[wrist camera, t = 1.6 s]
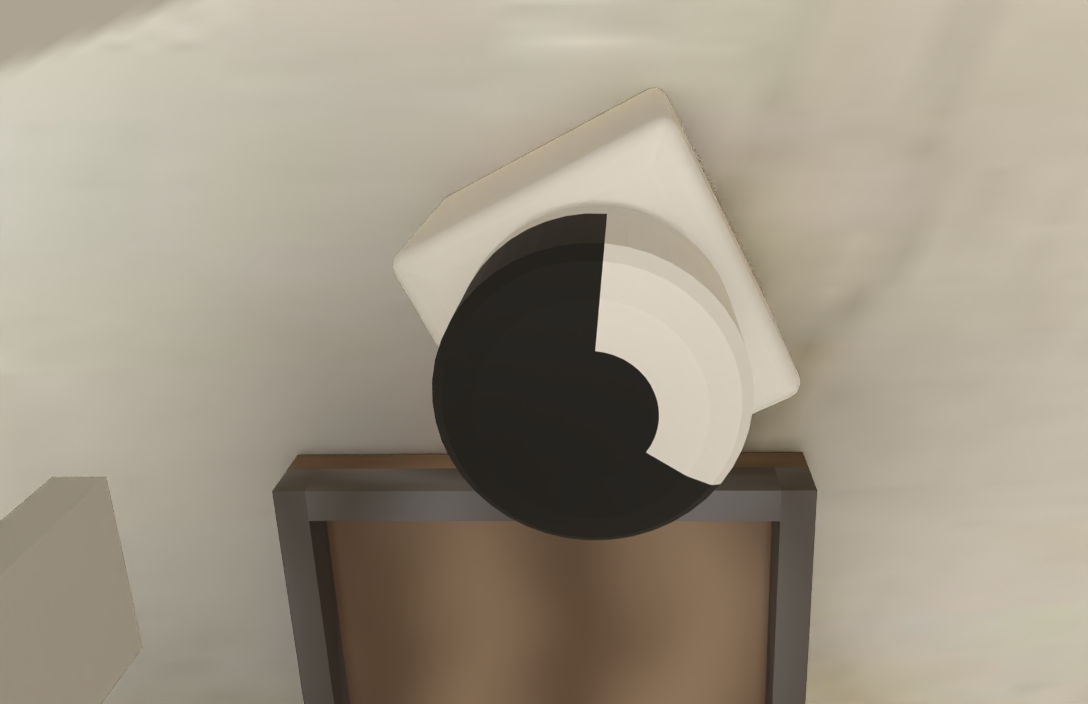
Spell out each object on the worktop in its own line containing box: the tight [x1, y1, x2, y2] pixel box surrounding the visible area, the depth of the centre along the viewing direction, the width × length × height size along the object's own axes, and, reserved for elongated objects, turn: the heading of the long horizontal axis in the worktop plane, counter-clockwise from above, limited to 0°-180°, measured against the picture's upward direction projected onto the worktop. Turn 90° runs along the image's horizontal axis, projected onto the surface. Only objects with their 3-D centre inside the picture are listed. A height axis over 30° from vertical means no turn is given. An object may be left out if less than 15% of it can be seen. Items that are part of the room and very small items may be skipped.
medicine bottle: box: [392, 88, 800, 540], centre depth 24 cm, size 7×7×12 cm
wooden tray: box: [272, 452, 817, 704], centre depth 33 cm, size 16×16×2 cm
